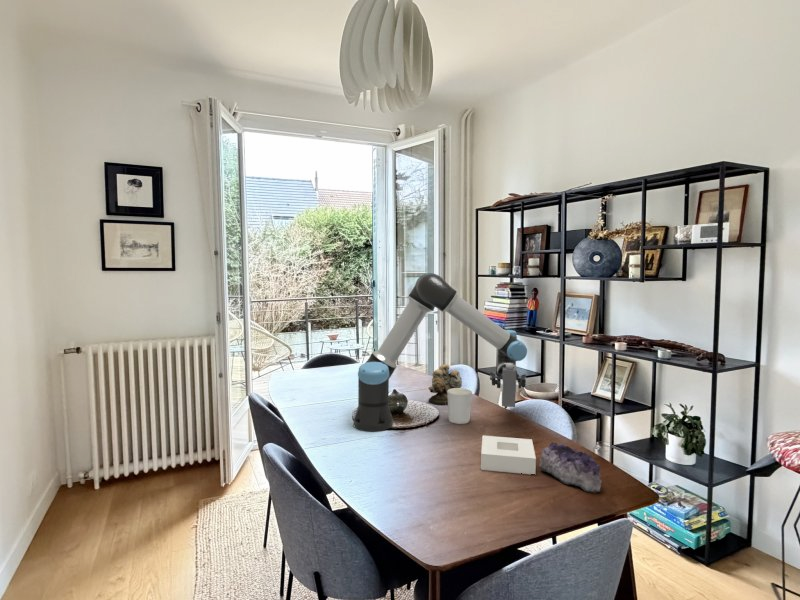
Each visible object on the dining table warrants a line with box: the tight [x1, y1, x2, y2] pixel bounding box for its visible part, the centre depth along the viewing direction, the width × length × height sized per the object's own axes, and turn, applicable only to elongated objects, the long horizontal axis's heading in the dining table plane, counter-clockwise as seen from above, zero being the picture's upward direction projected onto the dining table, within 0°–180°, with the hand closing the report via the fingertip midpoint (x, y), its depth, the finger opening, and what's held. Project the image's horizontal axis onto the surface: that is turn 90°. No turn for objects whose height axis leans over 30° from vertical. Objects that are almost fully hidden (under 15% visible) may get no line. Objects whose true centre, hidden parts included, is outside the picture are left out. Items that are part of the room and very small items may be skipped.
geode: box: [538, 441, 603, 493], centre depth 140 cm, size 20×12×10 cm, turn 29°
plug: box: [501, 363, 517, 408], centre depth 170 cm, size 4×4×15 cm
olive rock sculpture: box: [428, 364, 463, 406], centre depth 218 cm, size 18×12×17 cm, turn 117°
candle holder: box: [447, 387, 473, 425], centre depth 191 cm, size 10×10×12 cm
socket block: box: [480, 435, 537, 475], centre depth 151 cm, size 16×16×5 cm
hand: (509, 388), depth 165 cm, fingers closed on plug, 4 cm apart
